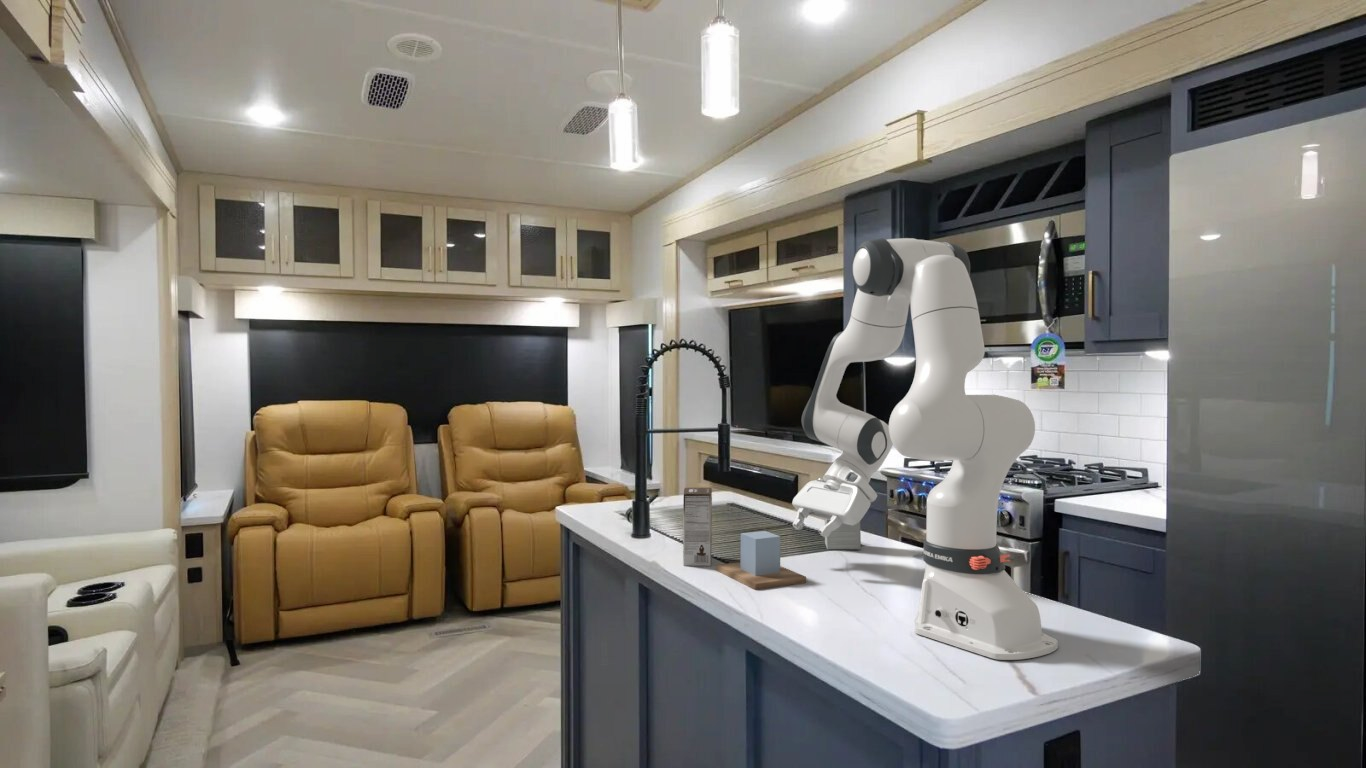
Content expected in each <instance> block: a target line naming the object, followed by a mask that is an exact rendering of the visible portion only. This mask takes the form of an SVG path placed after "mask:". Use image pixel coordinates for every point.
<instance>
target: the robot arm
mask: <svg viewBox="0 0 1366 768" xmlns="http://www.w3.org/2000/svg"><path fill="white" fill-rule="evenodd" d="M851 274H852V279H853V282H854V285H855V286H856V287H857V288H856V289H857V290H856V293H855V296H854V300H853V304H852V307H851V313H850V318H849V321H848V323H847V325H846V327H845V329H844V330H843V331H839V332H838V333H836V334H835V335H834V336H833V338H832V339H831V341H830V343H829V345H828V347H827V350H826V352H825V356H824V358H823V361H822V364H821V366H820V370H819V371H818V375H817V379H816V380H815V385H814V387H813V390H812V393H811V396H810V397H809V400H808V401H807V403H806V405H805V407H804V410H803V412H802V415H801V420H800V421H801V426H802V429H803V432H804V433H805V435H806V437H807V438H808V439H811V440H814V441H816V442H820V443H822V444H826V445H828V446H830V447H832V448H835V449H837V450H839V451H841V452H842V453H841V454H840V455H839V456H838V457H837V458H836V459H835V460H834V461H833V462H832V464H831V465H830V466H829V468H828V469H827V471H826V472H825V473H824V475H823V477H818V478H816V479H814V480H810V481H809V482H807V483H806V484H804V486H803V487H802V488H801V489H800V490H799V491H798V492H797V494H796V495H795V496H794V497H793V499H792V502H791V505H792V506H793V507H794V508H795V509H796V510H797V511H796V517H795V520H794V521H793V522H792V527H793V528H794V529H795V530H798V531H801V530H802V529H803V528H804V526H805V525H806V524H805V523H804V521H805V519H806V518H808V517H809V516H812V517H817V518H820V519H823V520H825V519H828V520H831V521H830V522H829V523H827V524H826V525H825V524H823V525H821V526H820V528H819V529H818V533H819V535H820V536H822V537H824V538H825V537H828V536H829V535H830V533H831V532H832V531H834V530H835V529H837V528H838V527H840V526H841V524H842V523H844V524H848V525H852V526H853V525H855V524H857V523H858V522H859V521H860V522H861V520H862V519H863V518H864V517H865V515H866V513H868V510H870V509H869V508H870V507H871V504H872V503H873V502H874V501H876V499H877V497H878V494H877V492H876V491H875V490H874V488H873V487H872V486H871V485H870V484H869V483H870V481H871V478H872V476H873V475H874V473H876V472H877V471H878V470H880V468H881V467H882V465H883V464H884V462H885V461H886V459H887V457H888V455H889V454H890V452H891V450H892V448H893V446H894V448H895V449H896V451H897V452H898V453H899V454H900V455H902V456H904V457H906V458H910V459H916V460H922V461H926V462H944V461H945V462H946V461H947V462H949V461H950V462H951V461H952V463H951V467H950V470H949V471H948V473H947V475H946V477H944V479H943V480H942V481H941V482H939V483H937V484H936V485H935V486H934V487H933V488H931V489H930V491H929V492H928V495H927V497H926V498H927V499H926V520H925V521H926V525H925V526H926V530H925V531H926V533H925V535H926V537H925V539H924V540H923V547H922V553H923V555H922V556H923V557H922V558H923V562H925V564H924V567H925V568H924V573H923V579H922V584H921V592H920V599H919V600H920V601H919V606H918V610H917V614H916V617H915V620H914V621H915V626H914V633H915V634H916V635H920V636H922V637H926V638H930V639H933V640H934V641H935V640H936V641H938V642H940V643H944V644H947V645H951V646H952V647H953V646H954V647H957V648H959V649H963V650H966V651H968V652H972V653H975V654H978V655H980V656H984V657H987V658H990V659H994V660H1002V661H1014V660H1015V661H1016V660H1017V661H1019V660H1025V659H1026V660H1027V659H1031V658H1032V659H1033V658H1037V657H1041V656H1045V655H1049V654H1051V653H1054V652H1055V651H1057V649H1058V648H1059V642H1058V640H1057V639H1056V638H1054V637H1052V636H1050V635H1048V634H1046V633H1044V632H1043V630H1042V621H1041V614H1040V611H1039V608H1038V607H1039V606H1038V605H1037V604H1036V602H1034V601H1033V600H1032V599H1031V597H1030V596H1028V594H1027V593H1026V592H1025V590H1023V589H1022V588H1021V587H1020V586H1019V584H1017V583H1016V582H1015V580H1014V579H1013V578H1012V577H1011V576H1010V575H1009V574H1008V572H1006V570H1005V569H1006V566H1005V563H1008V562H1011V559H1007V558H1009V557H1011V554H1009V553H1008V554H1002V553H1001V550H1000V547H999V544H997V528H998V527H997V525H998V524H997V523H998V522H997V521H998V507H999V505H998V504H999V499H1000V494H1001V490H1002V487H1003V484H1004V482H1005V479H1006V477H1007V475H1008V473H1009V471H1010V469H1011V468H1012V466H1013V464H1015V461H1016V460H1017V458H1019V457H1020V456H1021V455H1022V454H1023V453H1024V452H1026V450H1028V448H1030V446H1031V444H1032V443H1033V440H1034V437H1035V435H1036V434H1035V432H1036V424H1035V423H1036V421H1035V418H1034V414H1033V412H1032V411H1031V409H1030V408H1029V406H1028V405H1027V404H1026V403H1024V402H1023V401H1021V400H1019V399H1015V398H1011V397H1008V396H1002V395H999V394H998V395H997V394H966V387H965V383H966V378H967V374H968V373H969V372H971V371H972V370H974V369H975V368H976V367H978V365H980V363H982V361H983V359H984V357H985V353H986V349H985V344H984V343H985V342H984V341H985V340H984V335H983V331H982V325H981V318H980V313H979V306H978V302H977V301H978V300H977V298H976V297H977V296H976V293H975V290H974V287H973V283H972V280H971V277H970V275H971V262H970V258H969V254H968V253H967V251H966V249H964V247H962V246H961V245H958V244H956V243H954V242H953V243H952V242H949V241H940V242H939V241H934V240H925V239H917V238H913V237H911V238H909V237H904V238H901V237H900V238H899V237H898V238H887V239H885V238H884V237H883V238H874V239H870V240H866V241H864V242H861V244H860V245H859V247H858V248H857V249H856V251H855V254H854V256H853V259H852V264H851ZM909 308H910V315H911V324H912V331H913V338H914V340H913V341H914V349H915V351H914V352H915V371H914V375H913V376H914V377H913V381H912V384H911V385H910V388H909V390H908V392H907V393H906V394H905V396H904V397H903V398H902V399H901V400H899V402H898V403H897V404H896V405H895V406H894V408H893V410H892V411H891V414H890V415H889V416H890V417H889V421H888V423H886V422H885V421H884V420H881V419H879V418H877V416H874V415H872V414H870V413H868V412H865V411H862V410H860V409H857V408H854V407H852V406H851V405H847V404H844V403H843V402H840V400H839V399H838V397H837V394H838V391H839V388H840V386H841V385H840V384H841V383H842V380H843V376H844V374H845V371H846V369H847V367H848V366H849V365H850V364H851V363H863V362H864V363H865V362H873V361H874V362H875V361H879V360H882V359H885V358H888V357H889V356H891V355H892V354H894V352H896V351H897V350H898V349H899V347H900V345H901V344H902V341H903V339H904V334H905V331H906V330H905V329H906V327H907V326H906V324H907V320H908V315H909Z"/></svg>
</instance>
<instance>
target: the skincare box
mask: <svg viewBox="0 0 1366 768" xmlns="http://www.w3.org/2000/svg"><path fill="white" fill-rule="evenodd" d="M830 521H831V520H828V519H824V526H825V525H826V524H827V523H829V522H830ZM861 537H862V536H861V520H860V521H859V522H858V523H857V524H855V525H853V526H852V525H848V524H844V523H842V524H841V526H840V527H838V528H837V529H835V530H834V531H832V532H831V533H830V535H829V536H828V537H824V543H825V546H826V549H827V550H861V548H862V547H861V545H862V544H861V543H862V539H861Z"/></svg>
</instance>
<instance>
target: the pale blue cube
mask: <svg viewBox="0 0 1366 768" xmlns="http://www.w3.org/2000/svg"><path fill="white" fill-rule="evenodd" d="M740 562H741V566H740V569H742V570H744V571H746V572H748V573H750V574H753V575H755V576H758V575H766V574H773V573H780V566H781V536H780V535H778V534H775V533H772V532H769V531H766V530H761V531H753V532H750V531H749V532H742V533H740Z"/></svg>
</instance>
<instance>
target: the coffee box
mask: <svg viewBox="0 0 1366 768" xmlns="http://www.w3.org/2000/svg"><path fill="white" fill-rule="evenodd" d="M712 492H713V491H712V487H684V489H683V512H682V513H683V514H682V515H683V517H682V518H683V520H682V521H683V522H682V523H683V525H682V526H683V527H682V530H683V533H682V534H683V536H682V539H683V542H682V545H683V546H682V547H683V548H682V549H683V551H682V553H683V555H682V557H683V560H682V561H683V562H682V563H683V566H684V567H686V566H687V567H688V566H689V567H692V566H693V567H701V566H702V567H711V566H712V543H713V538H712V536H713V534H712V533H713V531H712V530H713V529H712V528H713V525H712V524H713V513H712V512H713V511H712V510H713V493H712Z"/></svg>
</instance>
